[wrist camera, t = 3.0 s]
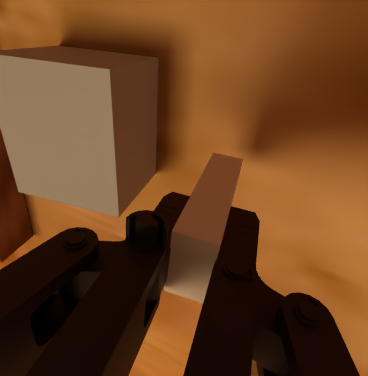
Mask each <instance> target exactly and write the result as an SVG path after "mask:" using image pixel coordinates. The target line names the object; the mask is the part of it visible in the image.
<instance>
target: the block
mask: <svg viewBox="0 0 368 376" xmlns="http://www.w3.org/2000/svg"><path fill="white" fill-rule="evenodd" d="M158 59H159V57H151V56H142V55H134V54H125V53H117V52H108V51H100V50H91V49H83V48H74V47H66V46H49V47H37V48H24V49H12V50H0V128H1V132H2V135H3V139H4V143H5V146H6V150H7V153H8V157H9V160H10V164H11V167H12V171H13V174H14V178H15V181H16V185H17V188H18V192H21V193H24V194H28V195H32V196H36V197H40V198H44V199H48V200H52V201H56V202H60V203H64V204H68V205H72V206H76V207H80V208H84V209H88V210H92V211H96V212H100V213H104V214H108V215H112V216H116V217H120V215H121V214H122V213H123V212H124V211H125V209H126V208H127V207H128V206H129V205H130V204H131V202H132V201H133V200H134V199H135V198H136V196H137V195H138V194H139V193H140V192H141V190H142V189H143V188H144V187H145V186H146V184H147V183H148V182H149V181H150V180H151V178H152V177H153V176H154V175H155V174H156V146H157V103H158Z"/></svg>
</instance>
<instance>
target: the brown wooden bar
mask: <svg viewBox="0 0 368 376" xmlns="http://www.w3.org/2000/svg"><path fill="white" fill-rule="evenodd" d="M32 236H33V233H32V228H31V224H30V220H29V215H28V211H27V207H26V203H25V198H24V194H23V193H21V192H18V188H17V185H16V181H15V178H14V174H13V171H12V167H11V164H10V160H9V157H8V153H7V150H6V146H5V143H4V139H3V135H2V132H1V128H0V262H3V261H4V260H5V259H6V258H8V257H9V256H10V255H11V254H12V253H13V252H15V251H16V250H17V249H18V248H19V247H20V246H22V245H23V244H24V243H25V242H26V241H28V240H29V239H30V238H31V237H32Z"/></svg>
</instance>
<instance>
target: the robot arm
mask: <svg viewBox="0 0 368 376" xmlns="http://www.w3.org/2000/svg"><path fill="white" fill-rule="evenodd" d="M242 162H243V159H239V158H235V157H230V156H226V155H222V154H217V153H213V154H212V156H211V158H210V160H209V162H208V164H207V166H206V168H205V169H204V171H203V173H202V175H201V177H200V179H199V181H198V183H197V185H196V186H195V188H194V190H193V192H192V194H191V196H187V195H183V194H179V193H175V192H171V193H169V194H167V195H166V196H164V197H163V198H162V200H161V201H160V203H159V205H158V206H157V207H156V208H155V211H148V210H144V211H137V212H134V213H131V214H130V215H129V216H128V217H126V239H125V240H124V241H115V242H112V241H98V237H97V234H96V233H95V232H94V231H92V230H90V229H87V228H80V227H76V228H71V229H67V230H65V231H63V232H60V233H59V234H57V235H56V236H54V237H52V238H51V239H49V240H48V241H46V242H44V243H43V244H41V245H39V246H38V247H36V248H35V249H33V250H31V251H30V252H28V253H27V254H25V255H23V256H22V257H20V258H18V259H17V260H15V261H14V262H12V263H10V264H9V265H7V266H5V267H4V268H2V269H1V270H0V376H128V375H129V373H130V370H131V368H132V366H133V363H134V361H135V359H136V356H137V354H138V352H139V349H140V347H141V345H142V342H143V340H144V338H145V335H146V333H147V331H148V328H149V326H150V324H151V321H152V319H153V317H154V314H155V312H156V310H157V308H158V305H159V301H160V294H161V291H162V289H163V287H164V285H165V289H164V291H167V292H170V293H173V294H176V295H179V296H182V297H185V298H188V299H191V300H194V301H197V302H200V303H203V306H202V310H201V313H200V317H199V320H198V324H197V328H196V331H195V335H194V339H193V342H192V346H191V350H190V353H189V357H188V361H187V364H186V368H185V372H184V375H183V376H251V368H252V359H253V360H254V361H255V362H256V365H257V371H258V376H360V375H359V373H358V371H357V369H356V366H355V364H354V362H353V360H352V358H351V355H350V353H349V351H348V349H347V347H346V344H345V342H344V340H343V338H342V336H341V334H340V331H339V329H338V327H337V325H336V323H335V320H334V318H333V316H332V315H331V313H330V312H329V310H328V309H327V308H326V307H325V306H324V305H323V304H322V303H321V302H320V301H319V300H317V299H315V298H313V297H312V296H310V295H307V294H303V293H291V294H289V295H287V296H285V297H284V296H283V295H281V294H279V293H278V292H276V291H274V290H273V289H271V288H270V287H268V286H267V285H266V284H265V283H264V282H263V281H262V280H261V278H260V277H259V276H258V273H257V271H256V257H257V245H258V234H259V222H260V221H259V219H258V217H257V215H256V213H255V212H251V211H247V210H243V209H240V208H236V207H232V206H231V204H232V201H233V197H234V193H235V189H236V185H237V181H238V177H239V173H240V169H241V165H242Z"/></svg>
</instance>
